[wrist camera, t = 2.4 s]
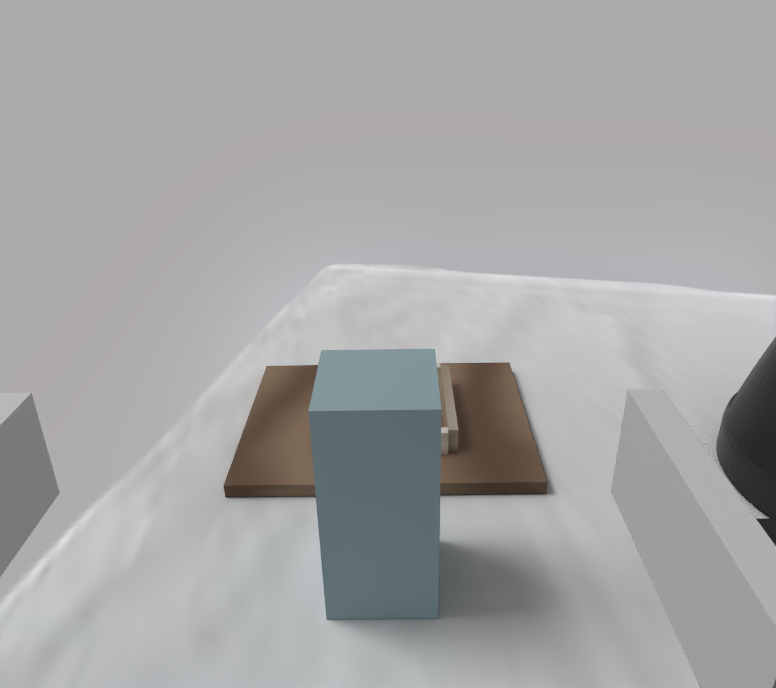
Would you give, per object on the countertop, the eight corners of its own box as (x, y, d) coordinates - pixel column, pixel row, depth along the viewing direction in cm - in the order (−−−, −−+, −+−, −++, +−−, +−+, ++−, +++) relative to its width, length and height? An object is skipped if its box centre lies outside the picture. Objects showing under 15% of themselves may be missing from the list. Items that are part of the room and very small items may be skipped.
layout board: (508, 372, 50) (510, 344, 49) (546, 493, 38) (549, 459, 36) (267, 375, 50) (264, 348, 49) (225, 496, 38) (220, 463, 37)
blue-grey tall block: (432, 539, 35) (434, 348, 30) (438, 618, 30) (441, 409, 25) (335, 540, 35) (321, 350, 30) (326, 619, 30) (308, 411, 25)
